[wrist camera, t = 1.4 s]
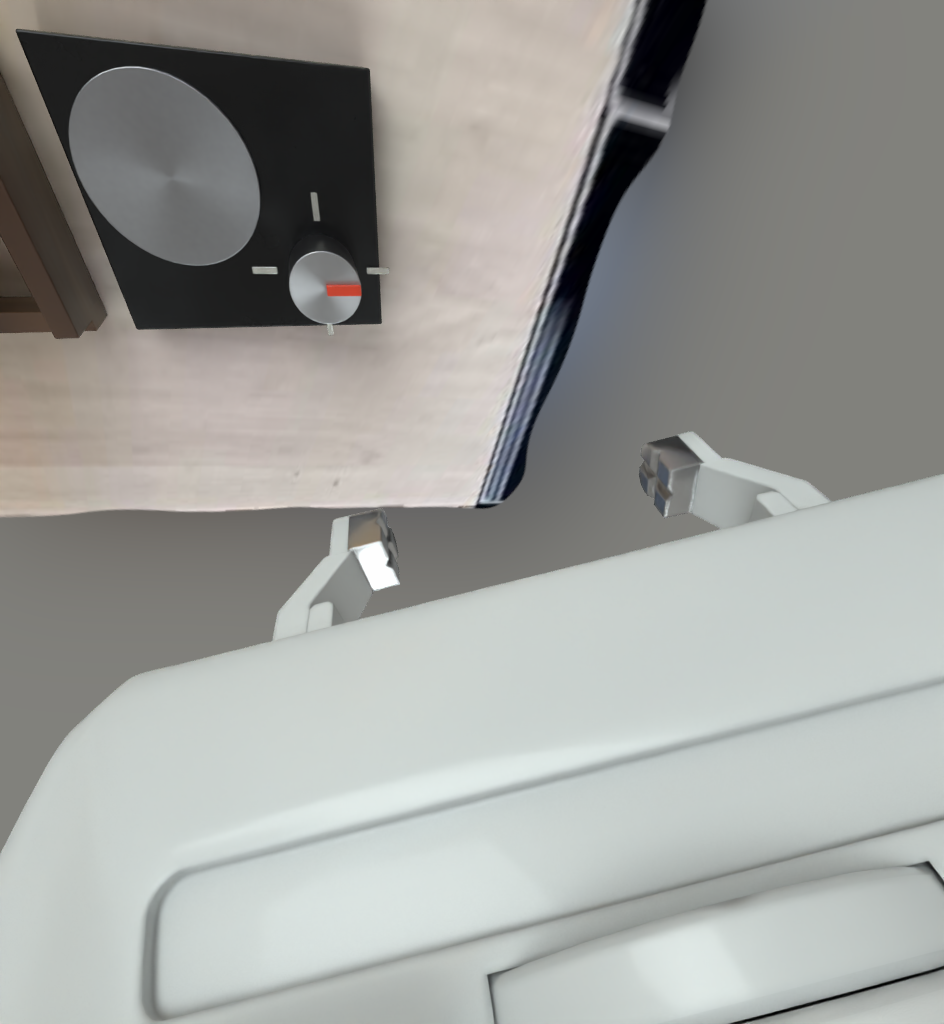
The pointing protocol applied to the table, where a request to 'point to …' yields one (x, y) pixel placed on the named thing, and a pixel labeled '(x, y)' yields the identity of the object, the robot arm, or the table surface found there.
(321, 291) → the hob knob
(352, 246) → the hob
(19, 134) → the spice rack
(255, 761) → the robot arm
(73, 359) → the table surface
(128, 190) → the burner
